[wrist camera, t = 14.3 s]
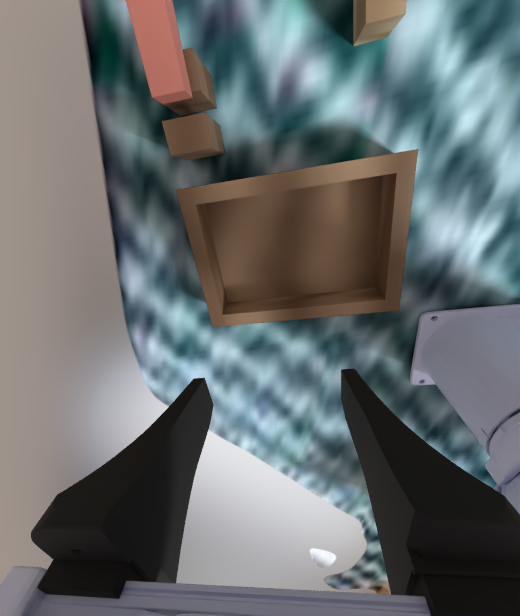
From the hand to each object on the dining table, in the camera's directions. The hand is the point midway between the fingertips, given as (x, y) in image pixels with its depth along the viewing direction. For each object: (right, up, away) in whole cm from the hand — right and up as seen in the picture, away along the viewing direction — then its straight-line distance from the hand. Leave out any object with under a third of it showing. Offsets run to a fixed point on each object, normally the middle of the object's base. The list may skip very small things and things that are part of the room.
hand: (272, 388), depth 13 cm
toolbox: (+2, +12, +5) cm, 13 cm away
